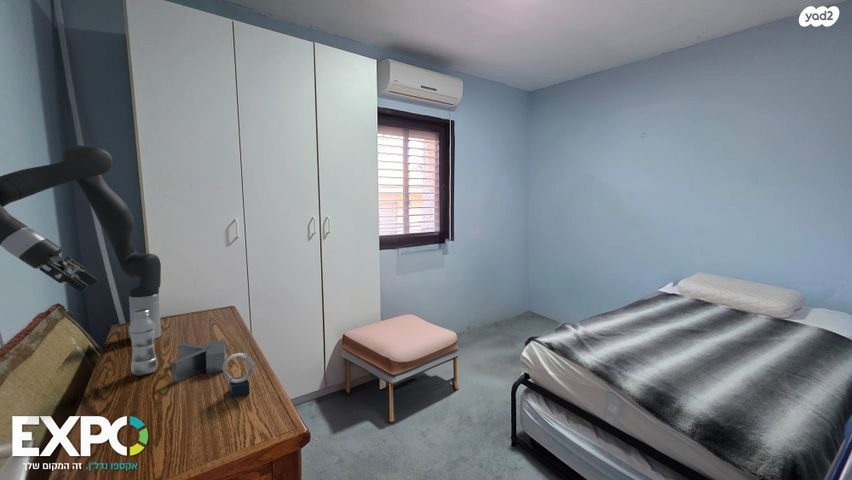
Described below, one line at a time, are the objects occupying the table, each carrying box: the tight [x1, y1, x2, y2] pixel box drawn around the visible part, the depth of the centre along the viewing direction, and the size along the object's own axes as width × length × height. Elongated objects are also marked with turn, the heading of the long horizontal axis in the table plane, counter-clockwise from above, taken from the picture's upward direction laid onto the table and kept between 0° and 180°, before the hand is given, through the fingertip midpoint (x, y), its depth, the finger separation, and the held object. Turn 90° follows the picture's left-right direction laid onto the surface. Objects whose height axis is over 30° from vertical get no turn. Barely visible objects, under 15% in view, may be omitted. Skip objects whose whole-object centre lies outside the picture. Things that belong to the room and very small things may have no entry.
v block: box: [170, 339, 227, 384], centre depth 117 cm, size 18×14×6 cm
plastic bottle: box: [128, 309, 159, 376], centre depth 111 cm, size 6×7×20 cm
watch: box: [222, 352, 256, 399], centre depth 102 cm, size 6×8×11 cm
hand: (90, 285), depth 104 cm, fingers open, 8 cm apart
